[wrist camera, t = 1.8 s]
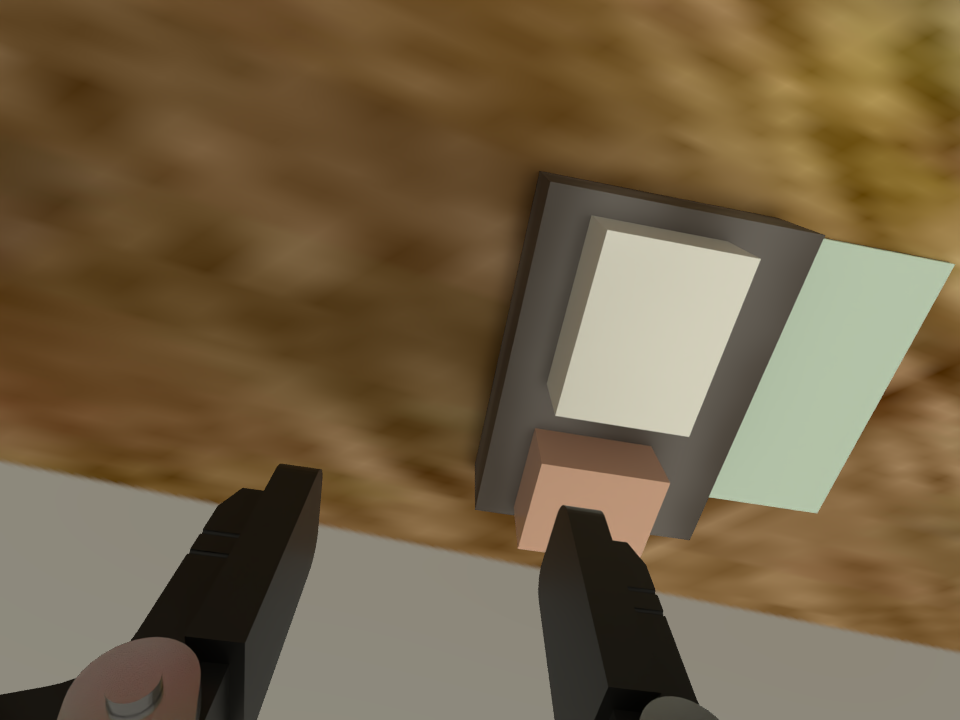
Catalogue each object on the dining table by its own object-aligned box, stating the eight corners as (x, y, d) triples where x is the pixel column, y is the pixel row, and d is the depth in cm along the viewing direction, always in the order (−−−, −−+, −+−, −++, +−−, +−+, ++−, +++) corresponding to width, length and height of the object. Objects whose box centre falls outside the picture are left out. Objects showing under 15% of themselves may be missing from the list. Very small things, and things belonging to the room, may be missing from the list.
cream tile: (546, 383, 26) (555, 415, 24) (591, 215, 23) (607, 229, 20) (667, 403, 27) (689, 437, 24) (727, 241, 24) (761, 258, 21)
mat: (676, 488, 34) (679, 492, 33) (783, 230, 27) (787, 231, 27) (813, 509, 35) (817, 513, 34) (948, 262, 28) (954, 264, 28)
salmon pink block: (513, 507, 29) (517, 548, 27) (535, 428, 27) (541, 463, 25) (622, 523, 30) (637, 564, 27) (651, 446, 28) (670, 483, 25)
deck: (474, 465, 33) (475, 509, 29) (539, 171, 26) (550, 181, 22) (666, 493, 34) (689, 540, 30) (777, 218, 27) (825, 235, 23)
